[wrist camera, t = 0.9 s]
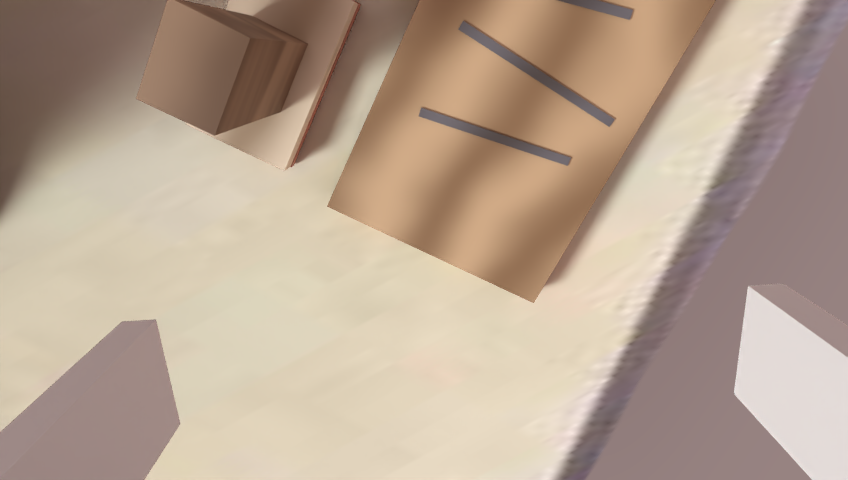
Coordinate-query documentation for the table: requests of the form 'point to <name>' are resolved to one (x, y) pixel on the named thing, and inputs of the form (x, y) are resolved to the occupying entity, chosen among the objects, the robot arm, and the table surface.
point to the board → (509, 126)
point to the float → (247, 69)
